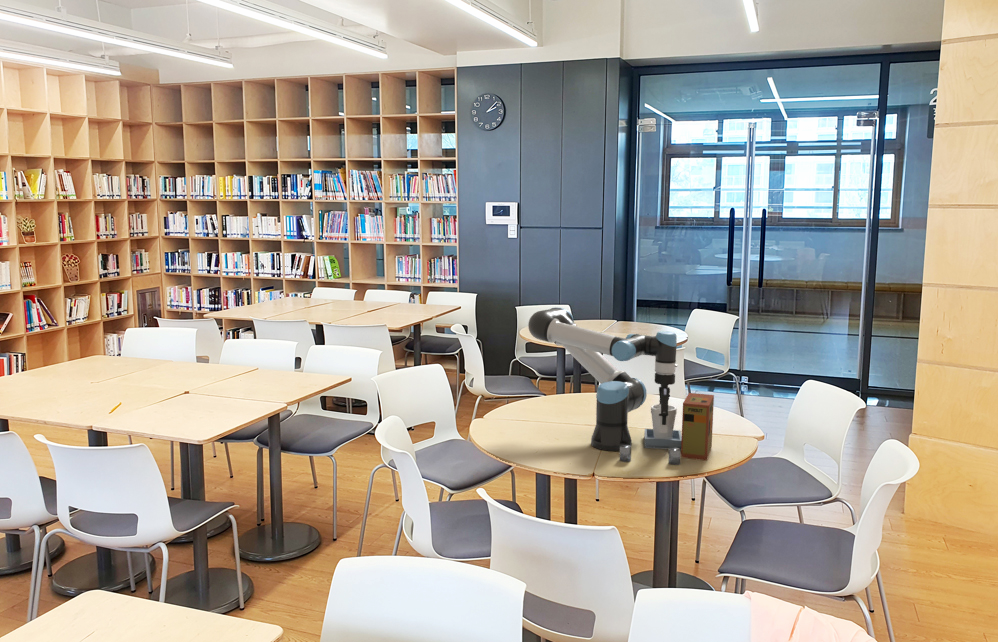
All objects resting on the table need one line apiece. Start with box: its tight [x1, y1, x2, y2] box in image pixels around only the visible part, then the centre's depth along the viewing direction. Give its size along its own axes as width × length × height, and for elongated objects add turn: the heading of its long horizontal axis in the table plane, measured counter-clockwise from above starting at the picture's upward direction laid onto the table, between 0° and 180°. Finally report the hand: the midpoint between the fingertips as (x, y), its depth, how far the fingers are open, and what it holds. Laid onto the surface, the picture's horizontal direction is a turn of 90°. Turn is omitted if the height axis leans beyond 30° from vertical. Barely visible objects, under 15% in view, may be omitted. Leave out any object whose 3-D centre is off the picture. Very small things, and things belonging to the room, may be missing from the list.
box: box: [680, 392, 715, 461], centre depth 274 cm, size 17×9×20 cm, turn 159°
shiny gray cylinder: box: [668, 448, 681, 466], centre depth 262 cm, size 4×4×5 cm
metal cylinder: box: [618, 445, 632, 463], centre depth 266 cm, size 4×4×5 cm
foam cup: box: [650, 403, 678, 440], centre depth 285 cm, size 10×9×13 cm
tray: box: [643, 428, 682, 450], centre depth 285 cm, size 14×14×4 cm
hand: (662, 427), depth 285 cm, fingers open, 13 cm apart
